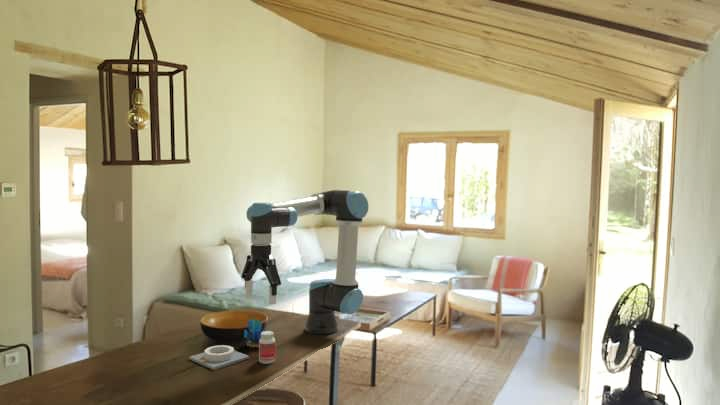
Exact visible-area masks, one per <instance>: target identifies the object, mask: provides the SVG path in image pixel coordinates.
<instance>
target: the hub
mask: <svg viewBox="0 0 720 405" xmlns="http://www.w3.org/2000/svg"><path fill="white" fill-rule="evenodd" d="M246 359H247V360H249V359H250V356H249V355H247V354H245V353H242V352H239V351H237V350H235V349H234V347H233V346H230V345H224V344H222V345H221V344H220V345H213V346H209V347H207V348H206V349H204V352H200V353H198V354H194V355H191V356H189V357H188V360H189V361H192V362H195V363H197V364H199V365H201V366H203V367H205V368H208V369H209V370H212V371H215V370H219V369H222V368H224V367H228V366H231V365H234V364H237V363H240V361H241V362H243V360H244V361H247V360H246Z"/></svg>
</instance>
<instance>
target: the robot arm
mask: <svg viewBox="0 0 720 405" xmlns="http://www.w3.org/2000/svg"><path fill="white" fill-rule="evenodd" d="M368 213H369V201H368V198H367V196H366V195H365V194H364V193H363V192H361V191H359V190H345V189H344V190H341V189H340V190H339V189H333V190H326V191H323V192H319V193H314V194H312V195H310V196H309V197H302V198H297V199H291V200H285V201H278V202H273V203H270V202H253V203H252V205H250V206H249V207H248V208H247V210H246V219H247V221H248V222H250V243H251V245H250V254H249V255H247V256H246V262H245V264H244V267H243V270H242V273H241V279H243V280H244V288H245V299H249V298H253V296H254V295H253V294H254V292H253V289H254V288H253V287H254V286H253V283H254V281H253V277H254V276H255V274H256V272H257V271H258V270H260V271H261V272H264V275H265V277H266V279H267V281H268V283H269V286H268V305H270V306H272V305H275V304H276V303H277V294H278V286H279V287H280V286H281V285H282V281H281V277H280V275H279V274H280V273H279V272H278V271H279V270H278V267H277V262H276V258H271V259H270V255H272V245H271V244H272V243H273V242H272V240H273V239H272V235H273V234H272V230H273V228H278V227H279V228H281V227H283V228H284V227H287V228H288V227H291V226H294V225H295V224H296V223H297V221H298V217H299V218H300V217H304V216H308V215H309V216H310V215H315V216H319V215H321V216H322V215H328V216H333V217H334V216H335V222H337V223H338V235H337V236H338V238H337V240H338V241H337V252H336V253H337V254H336V255H337V256H336V270H335V271H336V273H335V279H334V278H323V279H322V278H321V279H315V280H313V281H311V282H310V284H309V290H308V292H309V294H308V298H309V300H308V304H309V305H308V311H309V312H308V315H307V319H306V323H304V324H305V325H304V331H306V332H307V333H309V334H313V335H330V334H333V333H336V332H337V331H338V330H339V324H338V322H337V318H336V313H335V312H337V313H341V314H344V315H354V314H355V313H357V312H358V311H359V309H360V308H361V306H362V304H363V301H364V294H363V292H362V290H361V289H360V288H359V282H358V281H357V279H356V276H357V274H356V273H357V272H356V269H357V257H358V256H357V254H358V238H359V237H358V236H359V225H361V224H362V222H363V219H364V218H365V217H366V216H367V214H368Z"/></svg>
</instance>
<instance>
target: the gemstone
mask: <svg viewBox="0 0 720 405" xmlns="http://www.w3.org/2000/svg"><path fill="white" fill-rule="evenodd" d="M246 323H247V327H248V330H249V331H248V330H246V329H244V335H243V338H244V339H246V340H247V342H246V346H247V347H248V346H249V347H248V348H252V347H253V348H255V347H256V348H259V340H260V339H261V338H262V337H261V333H262V332H264V331H268V329H267V327H265V328H264V329H263V328H262V327H263V326H262V322H261V321H260V320H258V319H256V318H254V317H253V318H251V319H250V320H248V321H247V322H246ZM262 329H263V330H262Z"/></svg>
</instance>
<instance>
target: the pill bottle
mask: <svg viewBox="0 0 720 405" xmlns="http://www.w3.org/2000/svg"><path fill="white" fill-rule="evenodd" d="M261 332H262V331H261ZM261 337H262V338H261V339H260V340H259V347H258V362H259V363H261V364H267V365H269V364H272V363H274V362H275V361H276V338H275V336H274V331H272V330H267V331H264V332H262V333H261Z"/></svg>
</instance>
